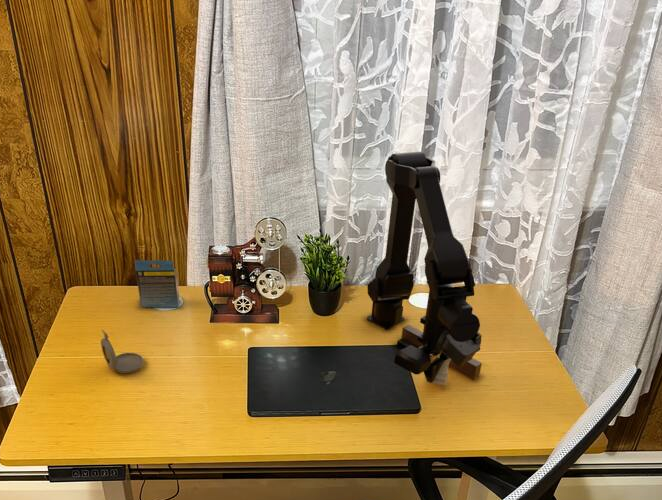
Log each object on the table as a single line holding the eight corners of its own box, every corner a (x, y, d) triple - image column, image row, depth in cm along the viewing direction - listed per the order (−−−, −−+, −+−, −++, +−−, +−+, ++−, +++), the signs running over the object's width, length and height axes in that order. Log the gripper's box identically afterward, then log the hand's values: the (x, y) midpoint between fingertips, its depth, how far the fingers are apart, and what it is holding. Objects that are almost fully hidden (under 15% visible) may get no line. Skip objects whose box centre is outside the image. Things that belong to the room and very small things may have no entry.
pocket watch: (150, 361, 161) (144, 321, 154) (126, 382, 155) (119, 342, 148) (118, 351, 163) (111, 311, 156) (94, 372, 157) (85, 331, 151)
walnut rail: (400, 340, 169) (402, 327, 167) (406, 337, 170) (408, 324, 168) (473, 380, 159) (476, 366, 157) (479, 376, 160) (482, 362, 158)
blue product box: (180, 299, 180) (175, 252, 172) (178, 308, 177) (173, 260, 169) (142, 299, 179) (135, 252, 171) (140, 308, 176) (133, 260, 168)
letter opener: (396, 345, 168) (397, 340, 167) (401, 342, 169) (402, 337, 168) (435, 366, 162) (436, 362, 161) (440, 363, 163) (441, 358, 162)
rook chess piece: (442, 387, 154) (457, 350, 151) (422, 378, 155) (437, 342, 152) (448, 384, 158) (462, 349, 155) (428, 376, 159) (442, 341, 156)
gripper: (444, 348, 135) (432, 418, 145) (503, 314, 146) (488, 381, 155) (396, 324, 141) (388, 393, 151) (457, 293, 152) (445, 359, 161)
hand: (429, 382), depth 155 cm, fingers closed
